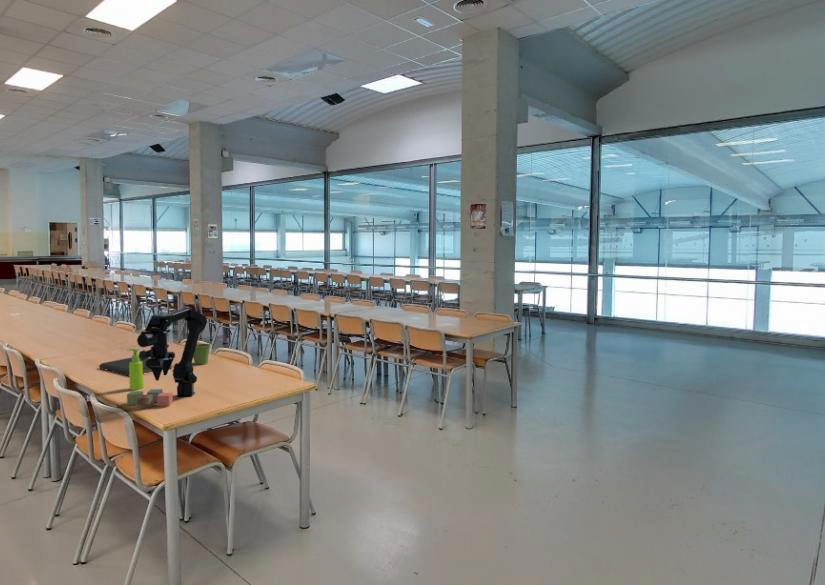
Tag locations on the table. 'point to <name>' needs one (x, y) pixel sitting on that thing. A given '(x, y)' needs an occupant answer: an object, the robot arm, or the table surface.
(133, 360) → the soap dispenser
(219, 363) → the table surface
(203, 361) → the plant pot
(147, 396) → the walnut cube
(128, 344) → the table surface
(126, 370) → the closed laptop
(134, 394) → the olive cube
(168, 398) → the red cube
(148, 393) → the slate cube
